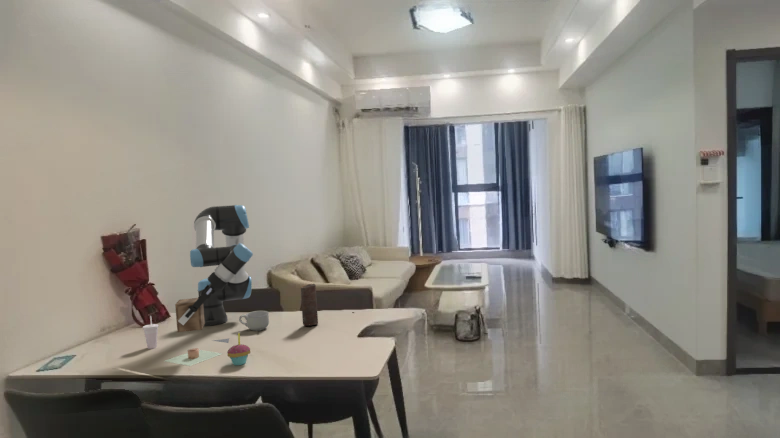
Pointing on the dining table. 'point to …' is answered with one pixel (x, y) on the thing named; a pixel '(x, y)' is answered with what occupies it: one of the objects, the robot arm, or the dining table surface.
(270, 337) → the dining table surface
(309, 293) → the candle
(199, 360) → the green board
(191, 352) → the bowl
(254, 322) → the teacup
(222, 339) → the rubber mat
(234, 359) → the cupcake
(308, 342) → the dining table surface
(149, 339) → the smoothie
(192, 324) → the walnut cover
